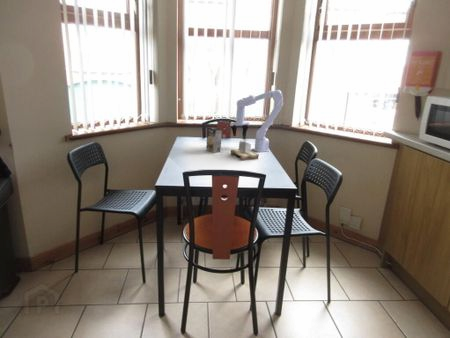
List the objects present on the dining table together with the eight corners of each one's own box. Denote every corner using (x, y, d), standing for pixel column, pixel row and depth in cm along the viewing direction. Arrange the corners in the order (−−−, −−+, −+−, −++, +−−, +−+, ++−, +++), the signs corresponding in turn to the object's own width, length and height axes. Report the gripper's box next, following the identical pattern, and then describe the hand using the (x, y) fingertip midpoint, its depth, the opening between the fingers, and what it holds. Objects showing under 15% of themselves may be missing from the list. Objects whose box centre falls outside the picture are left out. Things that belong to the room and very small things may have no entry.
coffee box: (205, 150, 218) (206, 127, 213) (212, 149, 222) (213, 126, 217) (214, 153, 211) (215, 129, 206) (221, 152, 215) (222, 129, 210)
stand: (245, 152, 217) (245, 148, 216) (258, 158, 204) (258, 154, 203) (230, 153, 212) (230, 149, 211) (242, 160, 198) (242, 155, 197)
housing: (243, 150, 211) (244, 140, 209) (250, 153, 205) (251, 143, 203) (238, 150, 209) (239, 141, 207) (245, 153, 203) (245, 143, 201)
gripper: (246, 115, 227) (244, 133, 231) (228, 116, 220) (227, 134, 225) (251, 117, 221) (249, 135, 226) (233, 117, 215) (232, 137, 219)
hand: (239, 135), depth 225 cm, fingers open, 7 cm apart
